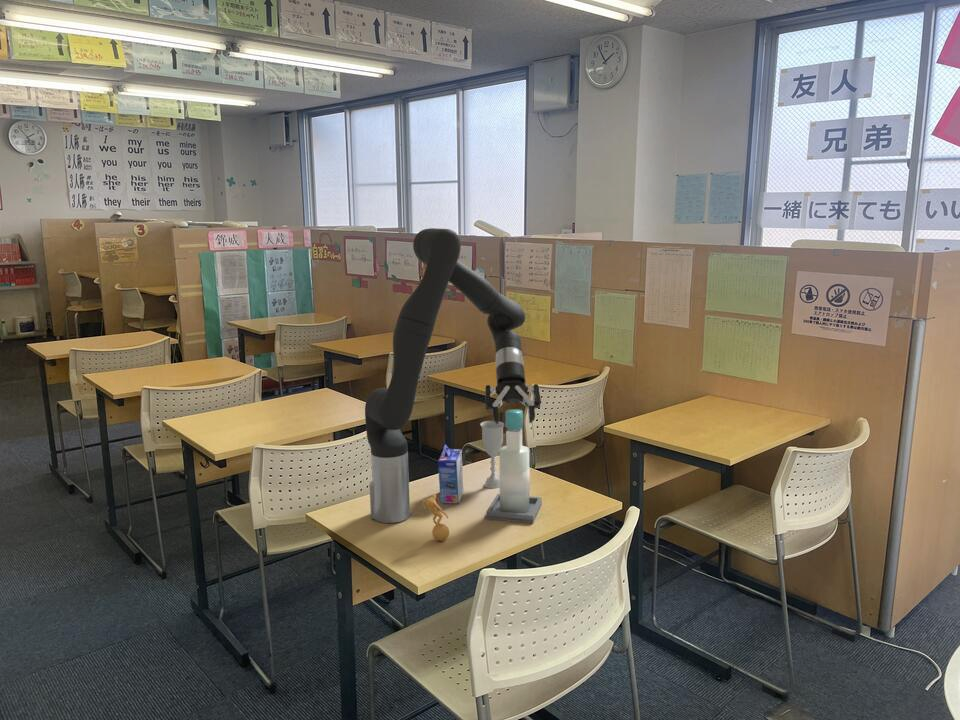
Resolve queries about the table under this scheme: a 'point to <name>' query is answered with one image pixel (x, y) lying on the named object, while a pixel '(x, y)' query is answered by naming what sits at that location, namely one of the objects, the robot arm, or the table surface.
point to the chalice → (492, 447)
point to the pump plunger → (514, 419)
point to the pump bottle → (514, 484)
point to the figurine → (439, 530)
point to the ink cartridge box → (450, 475)
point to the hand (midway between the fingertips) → (514, 421)
